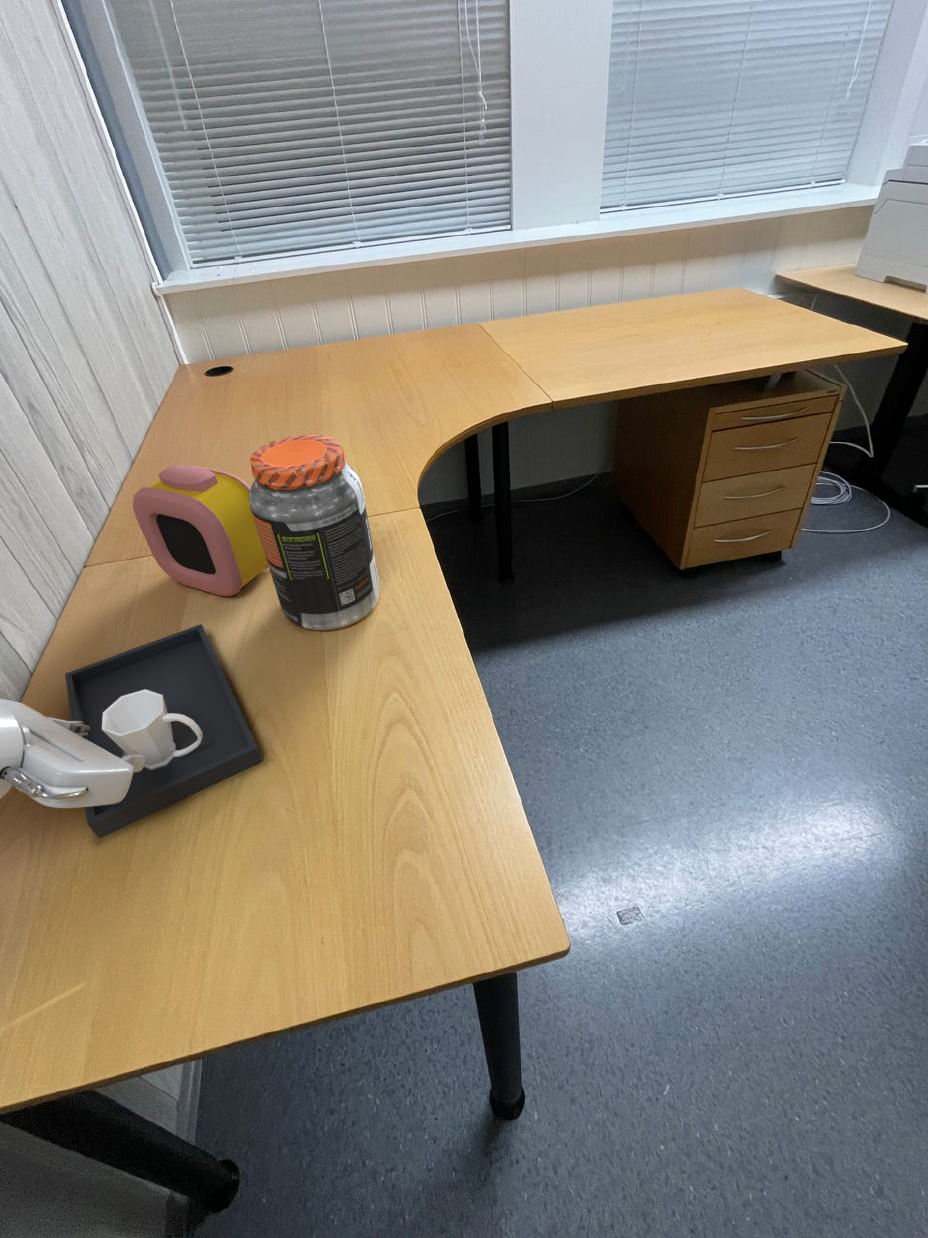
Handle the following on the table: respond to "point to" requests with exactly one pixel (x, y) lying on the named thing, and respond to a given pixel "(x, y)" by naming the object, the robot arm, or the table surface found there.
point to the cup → (146, 727)
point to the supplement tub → (314, 531)
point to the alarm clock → (201, 528)
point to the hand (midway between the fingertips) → (111, 745)
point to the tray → (188, 689)
